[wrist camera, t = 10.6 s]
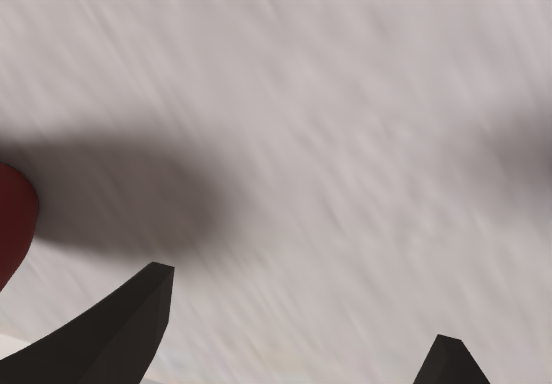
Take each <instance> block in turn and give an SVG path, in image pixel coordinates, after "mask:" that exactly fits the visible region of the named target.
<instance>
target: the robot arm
mask: <svg viewBox="0 0 552 384" xmlns="http://www.w3.org/2000/svg"><path fill="white" fill-rule="evenodd" d="M174 268H175V267H172V266H168V265H164V264H160V263H156V262H151V263H150V264H148V265H147V266H146V267H144V268H143V269H142V270H141V271H139V272H138V273H137V274H136V275H134V276H133V277H132V278H131V279H129V280H128V281H127V282H125V283H124V284H123V285H122V286H120V287H119V288H118V289H116V290H115V291H114V292H112V293H111V294H109V295H108V296H107V297H105V298H104V299H103V300H101V301H100V302H98V303H97V304H96V305H94V306H93V307H91V308H90V309H88V310H87V311H85V312H84V313H82V314H81V315H79V316H78V317H76V318H75V319H73V320H72V321H70V322H68V323H67V324H65V325H64V326H62V327H61V328H59V329H57V330H56V331H54V332H52V333H51V334H49V335H47V336H45V337H44V338H42V339H40V340H38V341H37V342H35V343H33V344H31V345H29V346H27V347H26V348H24V349H22V350H20V351H18V352H16V353H14V354H12V355H10V356H8V357H6V358H4V359H2V360H0V384H139V383H140V381H141V380H142V378H143V376H144V374H145V372H146V371H147V369H148V367H149V365H150V363H151V362H152V360H153V358H154V356H155V354H156V351H157V349H158V347H159V344H160V342H161V339H162V337H163V334H164V332H165V330H166V327H167V325H168V321H169V312H170V303H171V295H172V286H173V277H174ZM413 384H490V382H489V381H488V379H487V378H486V376H485V375H484V373H483V372H482V370H481V369H480V367H479V366H478V364H477V363H476V361H475V360H474V358H473V357H472V355H471V354H470V352H469V351H468V349H467V348H466V347H465V345H464V344H463V342H462V341H461V340H459V339H455V338H451V337H447V336H443V335H440V334H438V335H437V337H436V339H435V341H434V343H433V345H432V347H431V349H430V351H429V353H428V355H427V357H426V359H425V361H424V363H423V365H422V367H421V369H420V371H419V373H418V375H417V377H416V379H415V381H414V383H413Z"/></svg>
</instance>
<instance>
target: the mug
mask: <svg viewBox="0 0 552 384" xmlns="http://www.w3.org/2000/svg"><path fill="white" fill-rule="evenodd" d="M38 209H39V205H38V198H37V195H36V192H35V190H34V188H33V187H32V185H31V184H30V182H29V181H28V180H27V179H26V178H25V177H24V176H23V175H22V174H21V173H20V172H19V171H17V170H16V169H14V168H12V167H10V166H9V165H6V164H3V163H0V292H1V291H2V289H3V288H4V286H5V285H6V284H7V282H8V281H9V280H10V278H11V277H12V275H13V274H14V273H15V271H16V270H17V268H18V267H19V266H20V264H21V263H22V261H23V260H24V258H25V256H26V254H27V252H28V250H29V248H30V245H31V242H32V239H33V235H34V231H35V226H36V221H37V216H38Z"/></svg>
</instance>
